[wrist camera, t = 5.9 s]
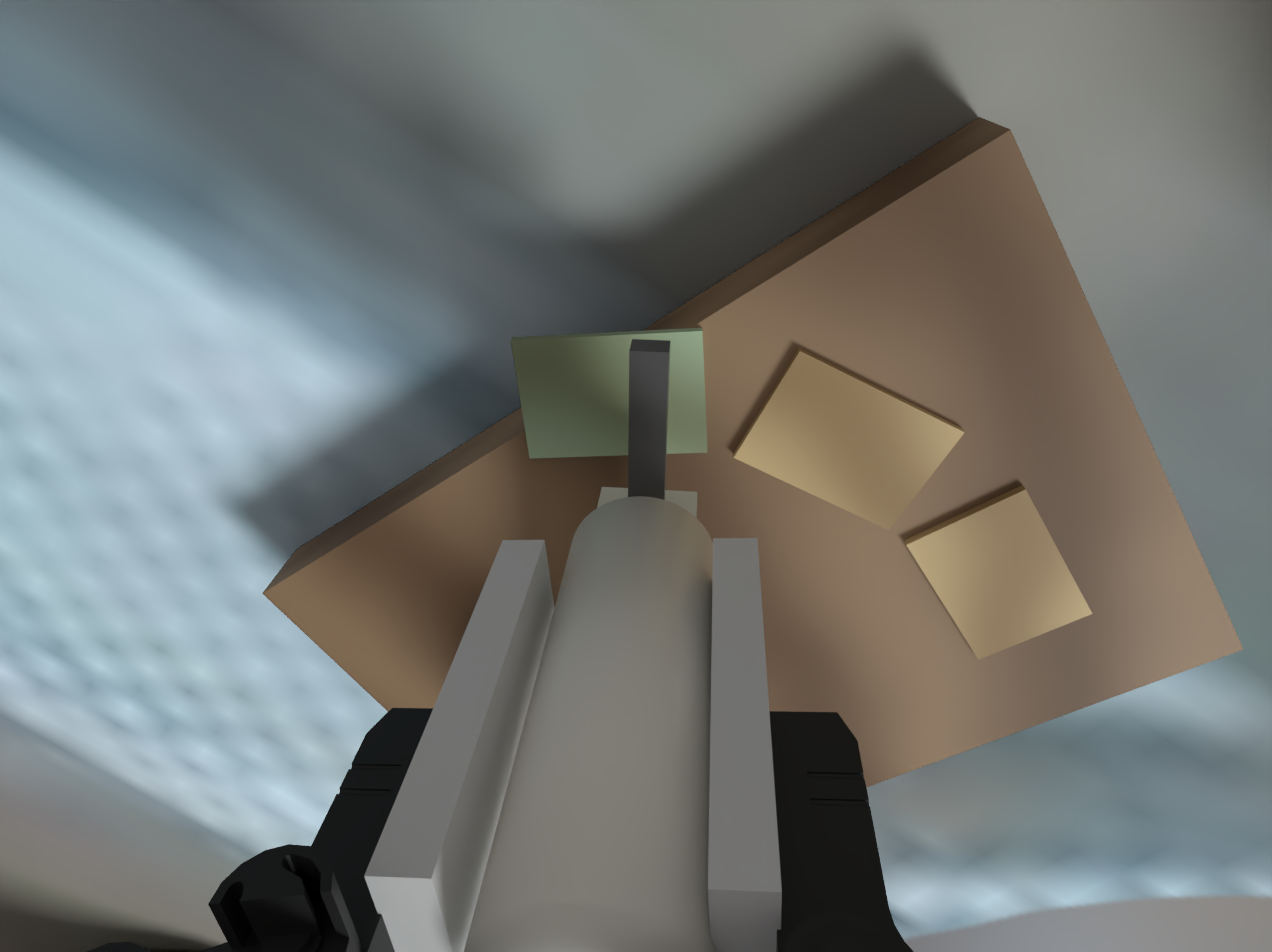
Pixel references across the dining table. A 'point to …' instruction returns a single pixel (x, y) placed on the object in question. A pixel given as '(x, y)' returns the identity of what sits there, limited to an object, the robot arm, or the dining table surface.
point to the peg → (616, 726)
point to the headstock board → (836, 478)
